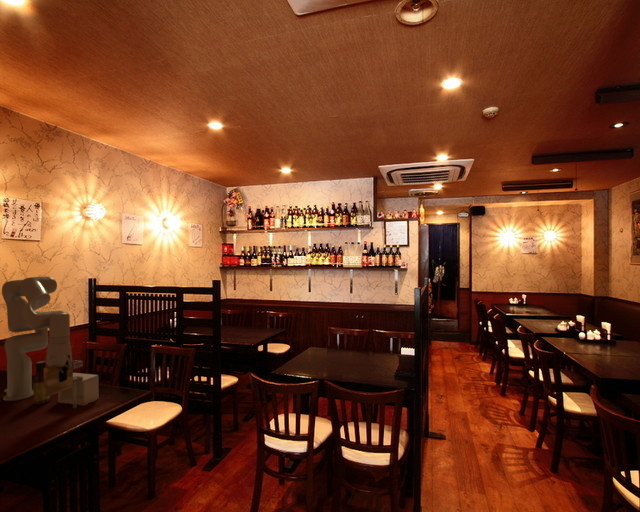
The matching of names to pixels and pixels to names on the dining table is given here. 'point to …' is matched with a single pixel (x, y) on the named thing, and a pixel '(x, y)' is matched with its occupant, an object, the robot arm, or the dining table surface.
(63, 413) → the dining table surface
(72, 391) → the white box
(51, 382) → the door
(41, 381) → the sauce bottle
